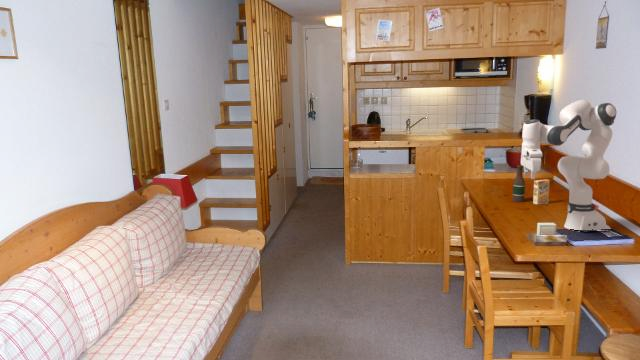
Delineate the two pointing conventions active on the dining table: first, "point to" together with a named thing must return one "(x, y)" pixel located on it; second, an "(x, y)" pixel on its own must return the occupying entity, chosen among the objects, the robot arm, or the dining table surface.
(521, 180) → the beer bottle
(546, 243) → the shelf
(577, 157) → the robot arm
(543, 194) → the candy box
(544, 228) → the carton
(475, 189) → the dining table surface
